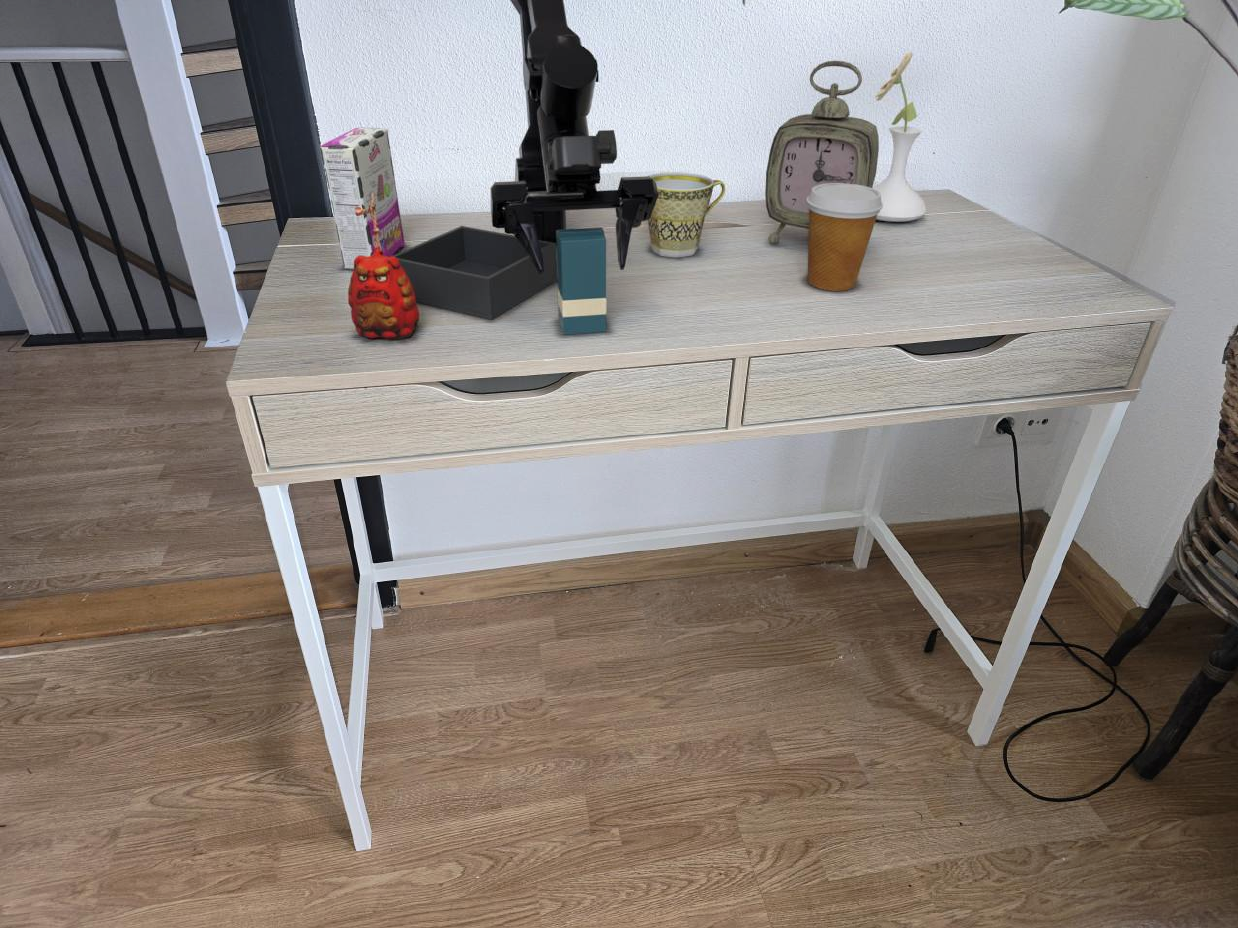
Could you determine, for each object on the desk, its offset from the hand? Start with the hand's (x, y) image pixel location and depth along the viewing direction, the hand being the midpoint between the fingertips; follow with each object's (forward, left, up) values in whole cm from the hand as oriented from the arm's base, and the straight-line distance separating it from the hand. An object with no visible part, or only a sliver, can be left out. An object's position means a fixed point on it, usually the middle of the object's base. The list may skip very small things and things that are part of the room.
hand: (582, 270), depth 91 cm
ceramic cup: (-33, -2, -7) cm, 34 cm away
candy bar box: (-7, -38, -7) cm, 40 cm away
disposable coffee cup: (-30, +21, -7) cm, 37 cm away
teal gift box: (-1, -1, -7) cm, 7 cm away
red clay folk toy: (+11, -20, -7) cm, 24 cm away
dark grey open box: (-5, -19, -7) cm, 20 cm away
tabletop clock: (-45, +14, -7) cm, 48 cm away
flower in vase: (-64, +21, -7) cm, 68 cm away
